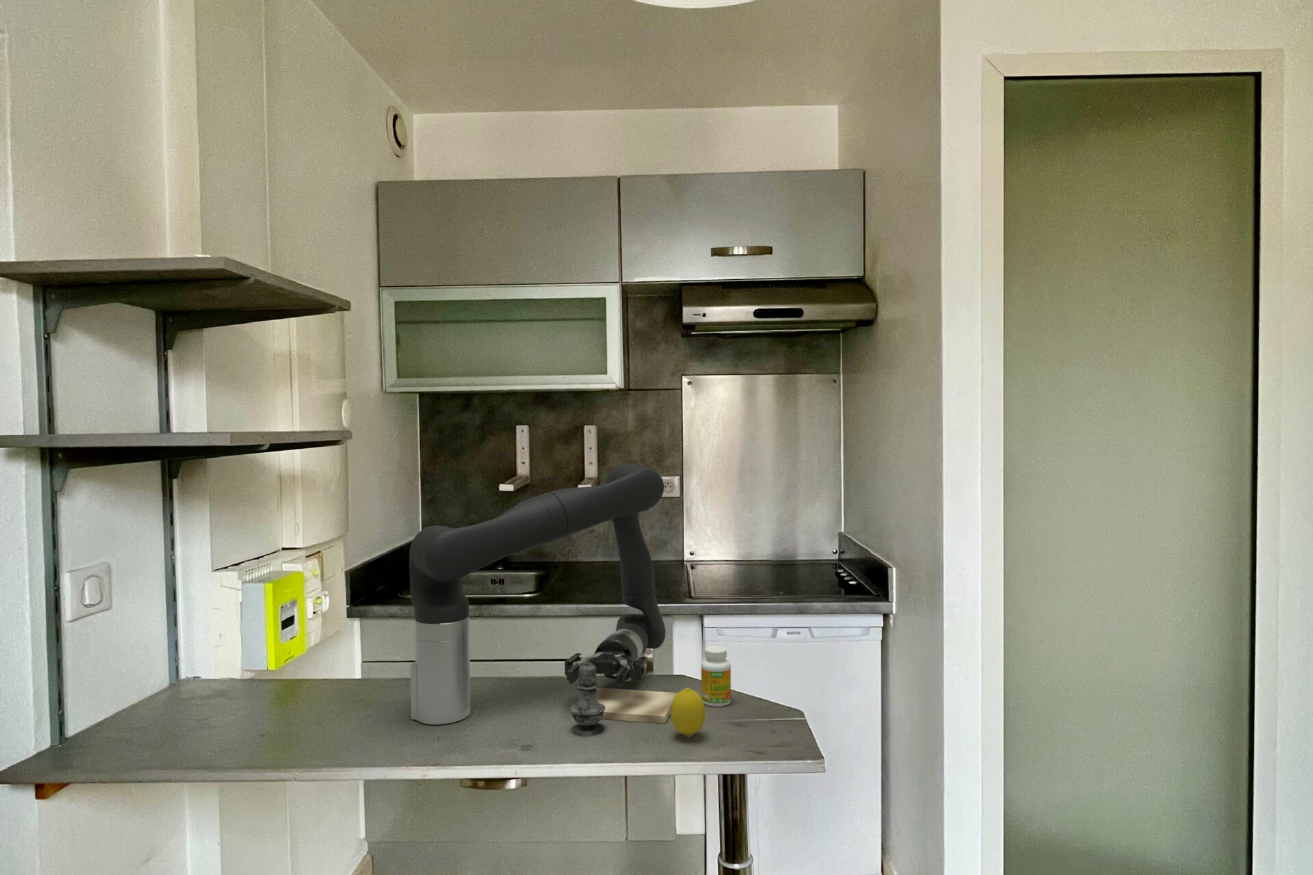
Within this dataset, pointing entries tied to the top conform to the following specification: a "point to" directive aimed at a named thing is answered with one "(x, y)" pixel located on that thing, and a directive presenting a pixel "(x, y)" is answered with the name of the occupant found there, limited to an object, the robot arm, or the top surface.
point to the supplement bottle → (716, 677)
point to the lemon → (688, 712)
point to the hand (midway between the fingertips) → (594, 678)
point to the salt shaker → (587, 703)
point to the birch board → (635, 705)
